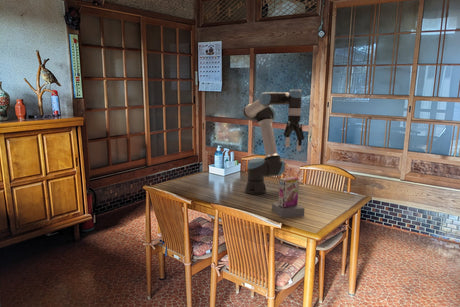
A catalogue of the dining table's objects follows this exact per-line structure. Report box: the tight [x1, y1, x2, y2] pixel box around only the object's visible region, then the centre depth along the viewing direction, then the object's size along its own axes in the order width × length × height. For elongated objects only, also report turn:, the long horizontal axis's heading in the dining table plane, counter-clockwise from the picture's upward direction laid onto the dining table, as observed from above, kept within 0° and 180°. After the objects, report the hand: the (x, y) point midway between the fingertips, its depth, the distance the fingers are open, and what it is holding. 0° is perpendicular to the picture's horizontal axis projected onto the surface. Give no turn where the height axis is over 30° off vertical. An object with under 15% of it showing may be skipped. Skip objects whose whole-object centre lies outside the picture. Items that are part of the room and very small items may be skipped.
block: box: [271, 201, 305, 219], centre depth 206 cm, size 14×14×5 cm
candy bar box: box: [277, 176, 300, 208], centre depth 204 cm, size 11×5×16 cm, turn 122°
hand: (293, 149), depth 220 cm, fingers open, 13 cm apart
